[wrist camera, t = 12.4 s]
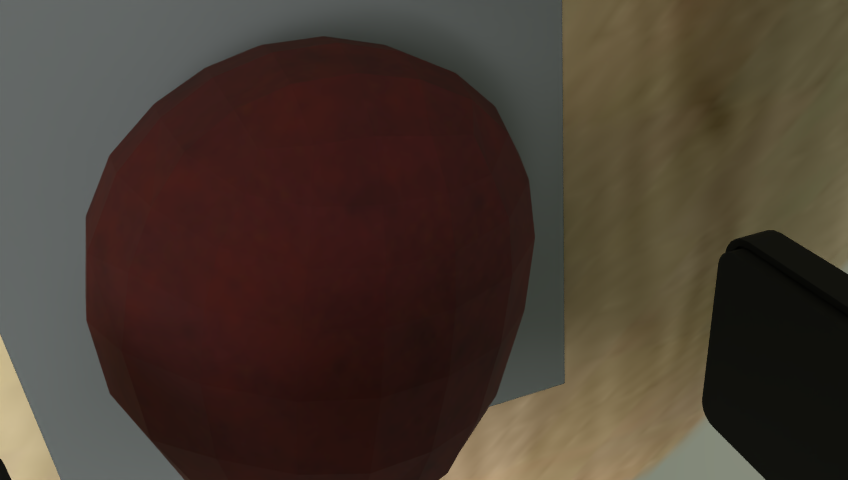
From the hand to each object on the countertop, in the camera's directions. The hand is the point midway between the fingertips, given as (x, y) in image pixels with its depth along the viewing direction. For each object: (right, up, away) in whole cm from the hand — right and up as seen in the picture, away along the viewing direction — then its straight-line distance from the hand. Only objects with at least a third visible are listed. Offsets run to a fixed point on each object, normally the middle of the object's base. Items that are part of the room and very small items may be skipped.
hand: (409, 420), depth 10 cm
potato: (-3, +3, +6) cm, 7 cm away
